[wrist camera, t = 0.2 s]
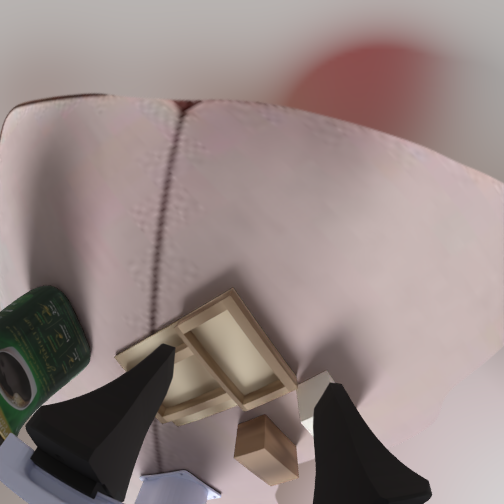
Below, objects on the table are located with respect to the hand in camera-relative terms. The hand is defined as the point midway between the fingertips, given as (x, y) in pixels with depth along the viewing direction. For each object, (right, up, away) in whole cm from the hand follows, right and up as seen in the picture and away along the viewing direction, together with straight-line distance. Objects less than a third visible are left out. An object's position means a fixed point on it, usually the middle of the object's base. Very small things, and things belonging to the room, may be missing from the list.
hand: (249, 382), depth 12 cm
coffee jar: (-20, -2, +12) cm, 24 cm away
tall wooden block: (+2, -14, +13) cm, 19 cm away
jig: (-5, -5, +12) cm, 13 cm away
